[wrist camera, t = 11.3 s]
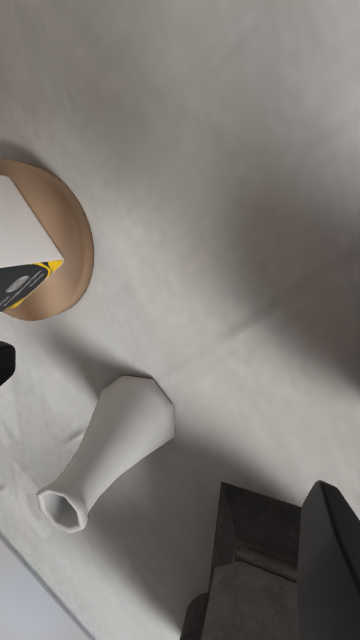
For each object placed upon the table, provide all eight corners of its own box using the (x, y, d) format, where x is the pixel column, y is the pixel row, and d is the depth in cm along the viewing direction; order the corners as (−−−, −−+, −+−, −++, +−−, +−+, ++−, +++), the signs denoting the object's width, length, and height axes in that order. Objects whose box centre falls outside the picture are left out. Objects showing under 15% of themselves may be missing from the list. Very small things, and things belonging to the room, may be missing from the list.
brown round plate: (61, 138, 20) (39, 128, 18) (113, 300, 22) (98, 306, 21) (-41, 194, 24) (-67, 192, 23) (12, 323, 27) (-8, 330, 25)
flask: (92, 380, 26) (-9, 461, 17) (160, 366, 23) (80, 455, 14) (122, 446, 27) (42, 554, 18) (189, 441, 24) (133, 567, 15)
